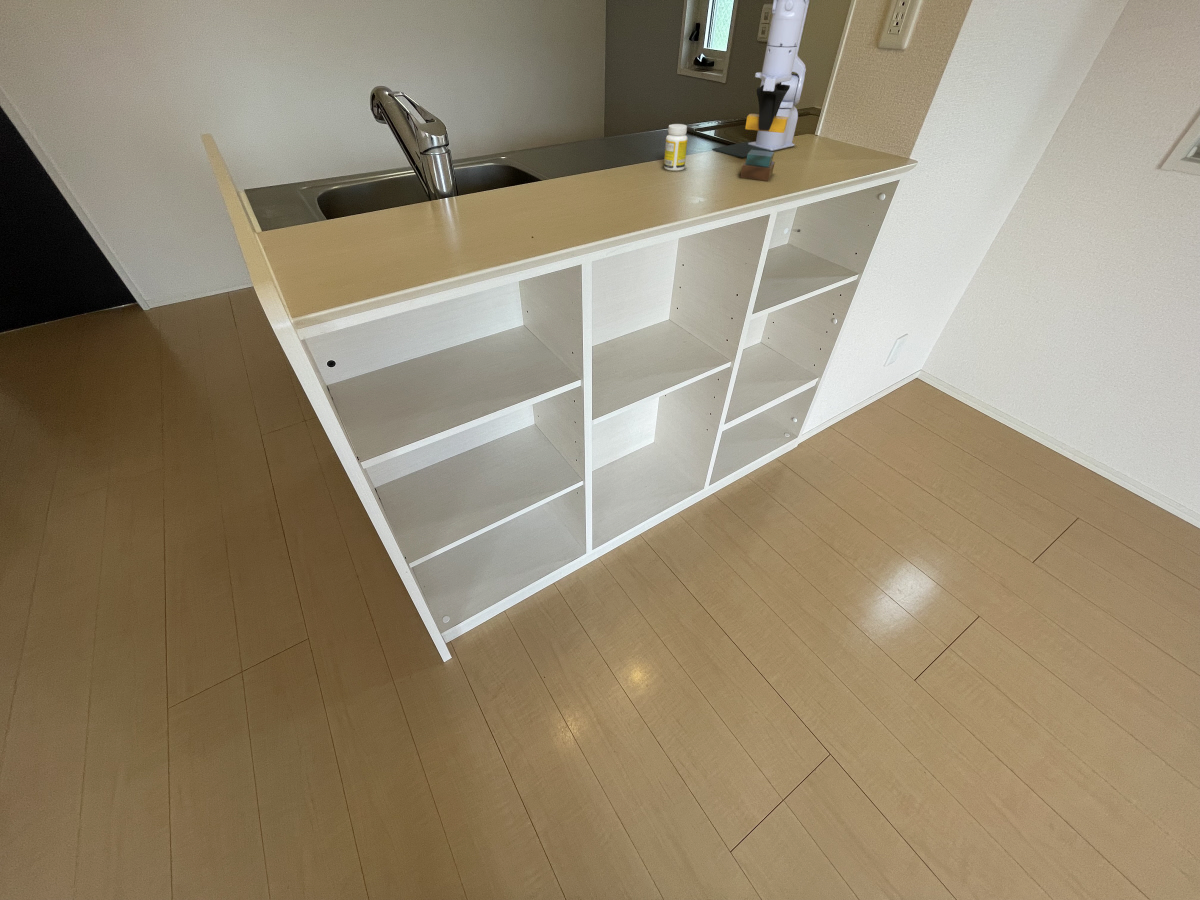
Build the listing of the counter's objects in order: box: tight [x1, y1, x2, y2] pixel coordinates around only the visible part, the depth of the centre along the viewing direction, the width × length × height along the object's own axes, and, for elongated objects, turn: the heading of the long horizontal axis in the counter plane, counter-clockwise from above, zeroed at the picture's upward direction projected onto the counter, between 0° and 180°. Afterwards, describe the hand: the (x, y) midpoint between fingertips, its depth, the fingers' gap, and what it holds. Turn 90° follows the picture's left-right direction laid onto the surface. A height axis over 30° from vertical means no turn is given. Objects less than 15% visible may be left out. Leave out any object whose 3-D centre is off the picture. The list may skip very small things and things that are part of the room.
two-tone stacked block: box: [740, 150, 775, 182], centre depth 111 cm, size 6×6×4 cm
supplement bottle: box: [663, 123, 688, 172], centre depth 113 cm, size 5×5×8 cm
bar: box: [744, 113, 788, 133], centre depth 106 cm, size 8×3×2 cm, turn 67°
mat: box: [712, 140, 780, 159], centre depth 129 cm, size 14×10×1 cm
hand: (765, 128), depth 106 cm, fingers closed on bar, 3 cm apart
